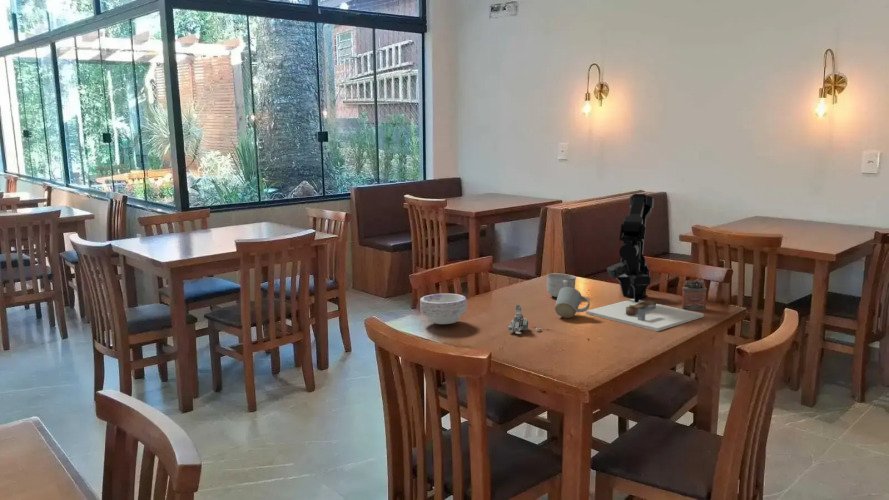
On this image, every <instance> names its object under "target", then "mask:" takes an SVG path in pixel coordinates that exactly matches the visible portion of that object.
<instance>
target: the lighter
mask: <svg viewBox="0 0 889 500" xmlns="http://www.w3.org/2000/svg"><path fill="white" fill-rule="evenodd" d="M684 285H686V286H682V299H681V300H682V302H681V309H683V310H688V311H705V310H706V309H707V306H706V304H707V303H706V301H707V290H708V288H707V287H706V286H704V281H702V280H701V281H700V280H699V281H698V280H696V279H695V280H693V281H692V280H685V281H684ZM704 309H705V310H704Z"/></svg>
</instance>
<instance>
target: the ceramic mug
mask: <svg viewBox="0 0 889 500" xmlns="http://www.w3.org/2000/svg"><path fill="white" fill-rule="evenodd" d="M581 301H585V302H587V305H586V306H585V307H583V308H580V307H579V306H580V304H581ZM590 306H591V303H590V300H589V299H588V298H587V297H586V296H582V294H581V292H580V291H579V290H578V289H576V288H575V289H574V288H571V287H564V288H562V289H560V291H559V294H558V297H556V301H555V304H554V310H555V313H556V315H558V316H559V317H561V318H565V319H570V318H572V317H574V316H575V315H576V313H584V312H586V311H588V310H589V309H590Z"/></svg>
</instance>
